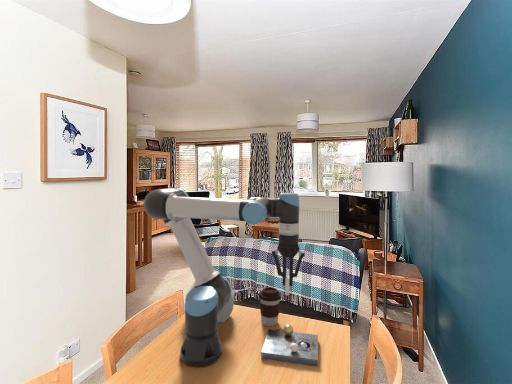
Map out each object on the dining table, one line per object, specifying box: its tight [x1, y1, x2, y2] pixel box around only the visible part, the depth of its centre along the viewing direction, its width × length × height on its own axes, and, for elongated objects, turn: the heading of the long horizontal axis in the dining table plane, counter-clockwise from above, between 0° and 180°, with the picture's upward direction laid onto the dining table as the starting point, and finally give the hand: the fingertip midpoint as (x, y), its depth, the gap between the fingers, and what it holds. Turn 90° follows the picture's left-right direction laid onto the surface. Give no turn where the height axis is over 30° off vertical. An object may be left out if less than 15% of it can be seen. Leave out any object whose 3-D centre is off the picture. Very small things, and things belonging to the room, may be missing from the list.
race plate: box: [260, 328, 319, 368], centre depth 112 cm, size 20×16×2 cm
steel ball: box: [299, 342, 308, 349], centre depth 111 cm, size 3×3×3 cm
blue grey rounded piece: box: [189, 281, 235, 323], centre depth 135 cm, size 21×8×20 cm, turn 94°
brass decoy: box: [282, 324, 294, 336], centre depth 118 cm, size 4×4×4 cm
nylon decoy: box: [290, 343, 298, 352], centre depth 107 cm, size 3×3×3 cm
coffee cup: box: [258, 286, 282, 327], centre depth 131 cm, size 10×10×15 cm
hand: (287, 293), depth 114 cm, fingers closed
